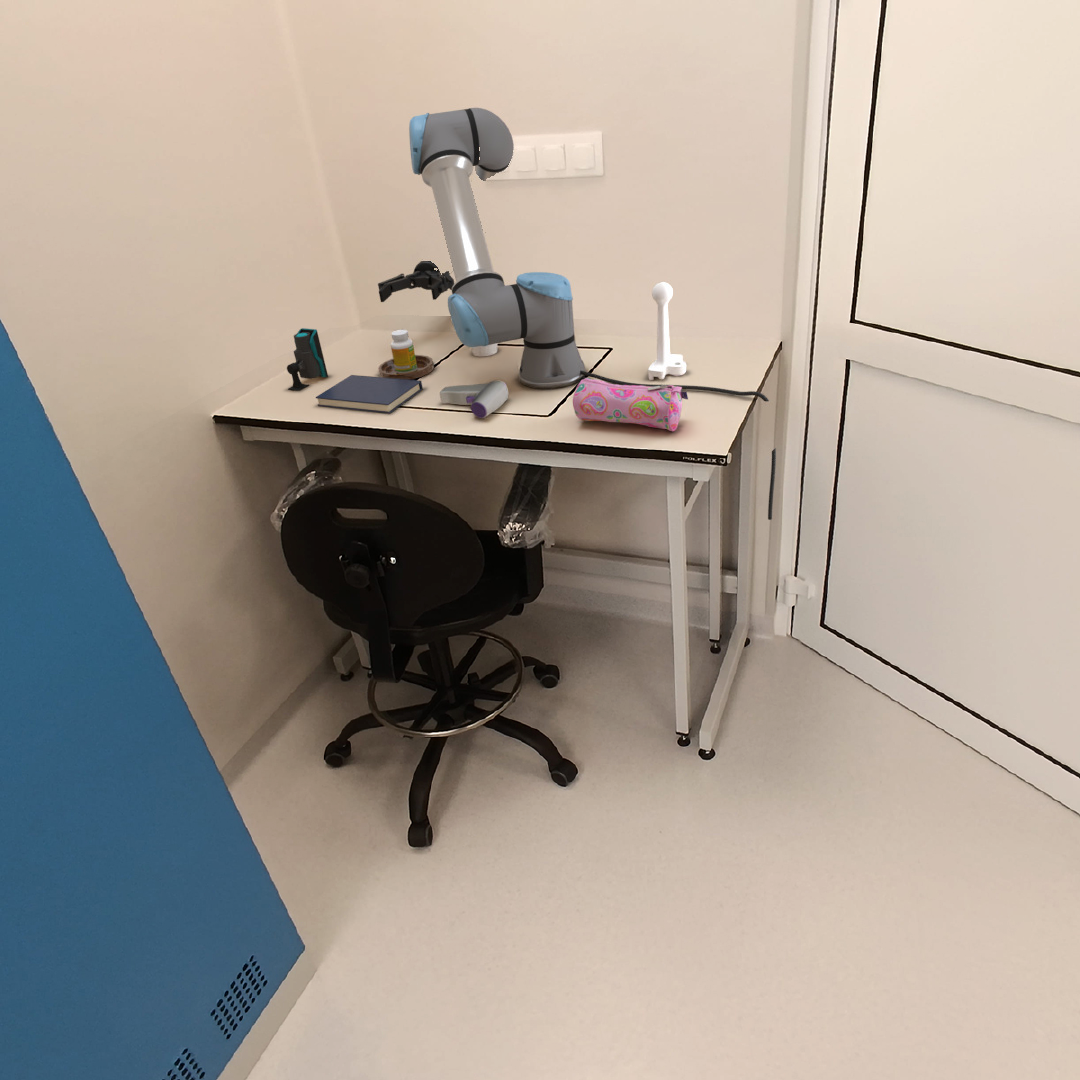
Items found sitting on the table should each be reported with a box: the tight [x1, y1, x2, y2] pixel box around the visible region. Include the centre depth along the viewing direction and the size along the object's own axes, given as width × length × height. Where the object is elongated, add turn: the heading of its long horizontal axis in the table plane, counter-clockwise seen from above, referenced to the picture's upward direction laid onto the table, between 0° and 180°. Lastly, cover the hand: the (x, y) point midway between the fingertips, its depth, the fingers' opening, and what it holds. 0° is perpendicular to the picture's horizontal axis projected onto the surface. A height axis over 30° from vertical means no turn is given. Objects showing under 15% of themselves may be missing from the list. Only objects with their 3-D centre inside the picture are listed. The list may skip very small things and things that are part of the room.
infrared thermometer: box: [439, 380, 509, 419], centre depth 174 cm, size 5×12×15 cm
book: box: [315, 374, 424, 414], centre depth 185 cm, size 20×14×2 cm
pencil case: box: [572, 377, 689, 432], centre depth 158 cm, size 21×9×9 cm, turn 64°
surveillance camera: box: [286, 327, 329, 392], centre depth 195 cm, size 6×12×10 cm
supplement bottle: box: [390, 329, 417, 373], centre depth 196 cm, size 5×5×10 cm
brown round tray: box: [378, 354, 435, 380], centre depth 198 cm, size 13×13×2 cm
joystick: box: [647, 281, 687, 381], centre depth 176 cm, size 11×8×20 cm
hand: (407, 295), depth 198 cm, fingers open, 13 cm apart
